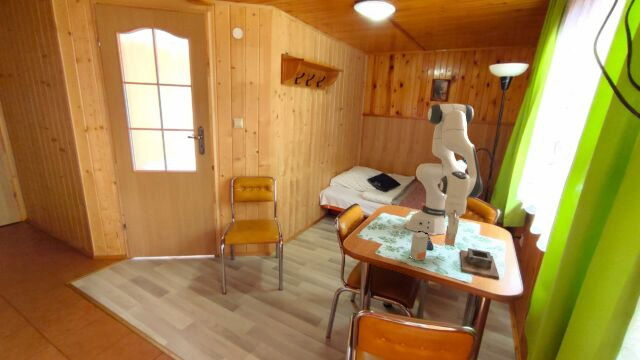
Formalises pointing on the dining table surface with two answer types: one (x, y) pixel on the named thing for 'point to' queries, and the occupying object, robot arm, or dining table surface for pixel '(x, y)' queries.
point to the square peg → (449, 239)
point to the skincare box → (419, 246)
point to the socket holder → (478, 263)
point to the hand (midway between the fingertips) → (450, 235)
